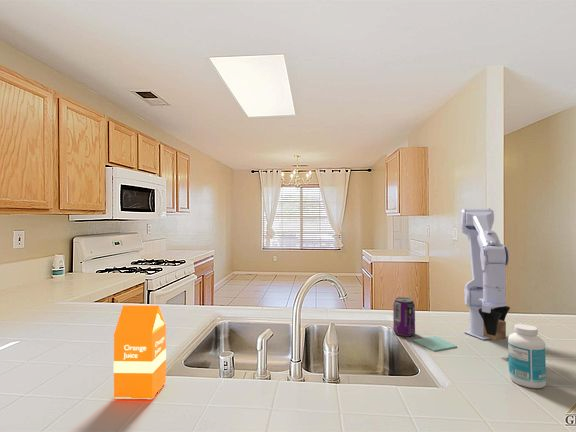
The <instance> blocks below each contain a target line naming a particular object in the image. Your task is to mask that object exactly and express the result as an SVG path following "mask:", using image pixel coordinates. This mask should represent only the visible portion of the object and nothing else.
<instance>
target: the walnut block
mask: <svg viewBox="0 0 576 432" xmlns="http://www.w3.org/2000/svg"><path fill="white" fill-rule="evenodd" d="M506 325H507V321H506V320H505V321H502V320H499V321H498V325H497V332H496V335H495V336H493V335H489V334H487V332H486V329H485V325H484V321H483V335H484V336H485V337H488V338H491V339H490V340H493V341H500V340H506V339H507V326H506Z"/></svg>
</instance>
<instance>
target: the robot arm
mask: <svg viewBox="0 0 576 432" xmlns="http://www.w3.org/2000/svg"><path fill="white" fill-rule="evenodd" d="M494 222H495V214H494V209H492V208H491V207H490V208H462V209H461V211H460V227H461V228H460V230H461V232H462V233H463V234H464V235H466V236H467V240H468V244H469V246H468V247H469V256H470V257H469V258H470V267H471V278H472V279H471V280H469V281H468V282H467V283H465V285H464V287H463V289H464V292H463V299H464V305H465V306H466V307H467V308H469V311H468V312H469V316H468V317H469V323H468V324H469V329H467V330H463V333H464V334H467V335H470V336H471V337H475V338H477V339H481V340H483V341H484V340H489V339H490V340H492V339H491V338H488V337H485V336H484V335H483V321H484V325H485V329H486V332H487V334H489V335H493V336H495V335H496V332H497V325H498V321H499V320H502V321H506V316H507V315H508V313H509V311H510V310H511V307H510V306H507V305H508V304H507V303H508V302H507V295H506V294H507V286H506V285H507V281H506V279H507V277H506V275H507V273H506V267H507V266H508V264H509V263H510V262H509V260H510V255H509V250H508V246H507V245H505V244H502V243H501V241H500V238H499V236H498V233H496V232H495V231H494V230H492V228H493V225H494Z"/></svg>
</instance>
